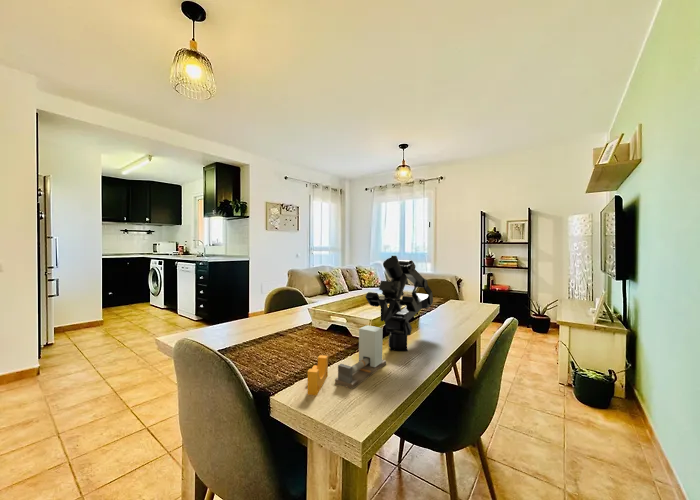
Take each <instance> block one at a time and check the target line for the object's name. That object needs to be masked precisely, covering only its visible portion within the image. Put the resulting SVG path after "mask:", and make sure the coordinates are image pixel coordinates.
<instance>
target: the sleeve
mask: <svg viewBox="0 0 700 500" xmlns="http://www.w3.org/2000/svg"><path fill="white" fill-rule="evenodd" d="M383 330H384V329H383V327H378V326H374V325H373V326H372V325H368V324H367V325H364V326H362V327H359V328H358V362H359V361H361V360H363V359H365V358H366V357H369V358H370V366H371V367H376V366H378V365H379V364H381V363H382V360H383Z"/></svg>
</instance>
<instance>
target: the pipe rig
mask: <svg viewBox="0 0 700 500" xmlns="http://www.w3.org/2000/svg"><path fill="white" fill-rule="evenodd" d="M337 365H338V366H337V377H336V378H334V383H335V384H337V385H339V386H343V387H346V388H348V389H352V390H353V389H355V388H356V387H357V386H359V384H361V383H362V382H364V381H365V380H367V379H368V378H370V377H371V376H372V375H373V374H374V373H377V372H378V371H379V370H380V369H381V368H383V367H384V366H386V365H387V360H385V359H382V363H381V364H379V365H378V366H376V367H371V366H370V358H369V357H366V358H365V359H363V360H361V361H359V360H358V362H357V363H355V364H353V365H348V364H344V363H339V364H337Z"/></svg>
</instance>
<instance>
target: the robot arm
mask: <svg viewBox="0 0 700 500" xmlns="http://www.w3.org/2000/svg"><path fill="white" fill-rule="evenodd" d="M382 266H383V268H384V269H385V272H386V274H387V276H388V278H390V280H381V281H380V283H379V286H378V287H379V288H378V290H379V291H381V294H382V295H379V294H378V292H374V291H373V292H371V291H369V292H367V293H366V295H365V299H366V300H367V302H368V305H370V306H371V307H375V308H377V307H379V308H380V321H381V322H384V327H385V331H386V333H389V334H388V348H389V349H390V351H391V352H408V351H409V349H408V336H411V333H412V331H413V330H412V328H413V327H412V325H411V323H410V322H409V321H410V320H411V319H412V318H413V317H414V316H415V315H416V314H418V313H419V312H420V311H421V310H422V309H428V308H431V306H432V305H433V303H434V297H433V290H432V289H431V288H430V287H429V285H428V280H427V278H425V277H423V276H422V275H421V274H420V273H419V271H417V270H416V264H415V263H414V261H413V260H411V259H409V260H408V259H399V258H398V257H397V255H391V257H389V258H387V259H386V260H385V259H384V261H383V263H382ZM408 280H409V281H410V282H411V283H412V284H413V286H414V287H413V289H412V292H411V296H408V295H405V294H404V289H405V286H406V285H409V281H408ZM417 288H420V289H421V288H422V289H423V290H424V291H425V293H420V292H417V291H416V290H417ZM403 306H405V307H404V308H402V307H403Z"/></svg>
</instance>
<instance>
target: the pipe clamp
mask: <svg viewBox="0 0 700 500" xmlns="http://www.w3.org/2000/svg"><path fill="white" fill-rule="evenodd" d="M328 361H329V356H328V355H324V354H323V355H321V354H320V355H319V356H318V357H317V364H314V365H313V366H312V368H308V370H307V391H306V392H307V393H306V394H307V395H308V396H315V397H317V396H318V394H319V393H320V391H321V389H322V388H323V385H324V383H326V380H327V378H328V376H329V371H328V370H329V366H328V364H329V362H328Z"/></svg>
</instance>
